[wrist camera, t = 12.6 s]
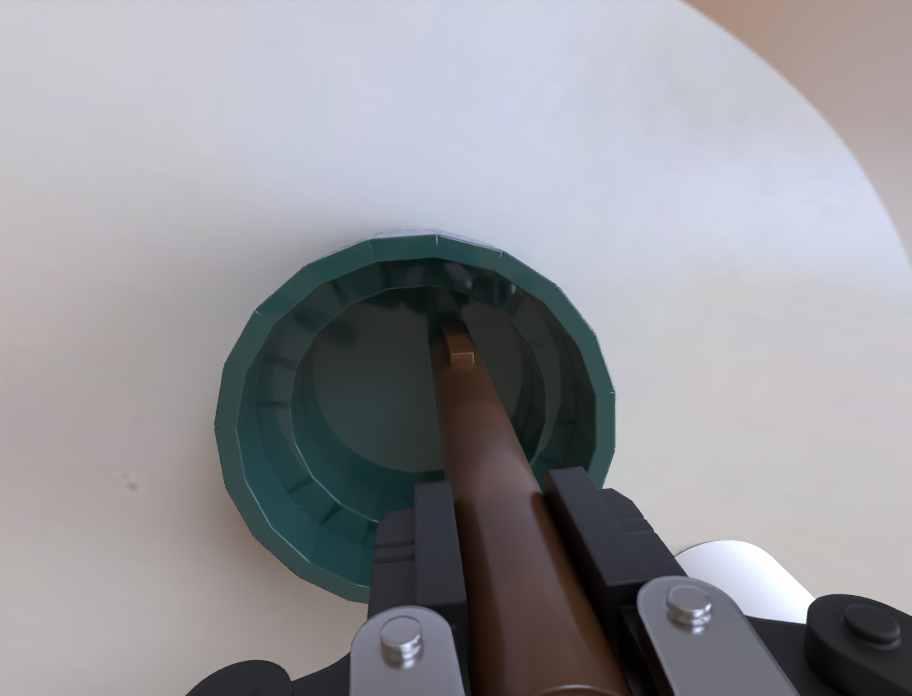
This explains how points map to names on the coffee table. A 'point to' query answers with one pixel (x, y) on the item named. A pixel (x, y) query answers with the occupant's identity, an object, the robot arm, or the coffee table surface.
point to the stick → (512, 548)
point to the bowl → (394, 391)
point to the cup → (748, 579)
